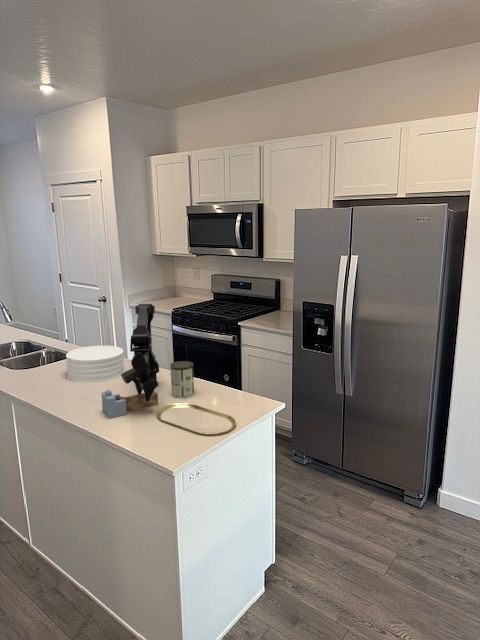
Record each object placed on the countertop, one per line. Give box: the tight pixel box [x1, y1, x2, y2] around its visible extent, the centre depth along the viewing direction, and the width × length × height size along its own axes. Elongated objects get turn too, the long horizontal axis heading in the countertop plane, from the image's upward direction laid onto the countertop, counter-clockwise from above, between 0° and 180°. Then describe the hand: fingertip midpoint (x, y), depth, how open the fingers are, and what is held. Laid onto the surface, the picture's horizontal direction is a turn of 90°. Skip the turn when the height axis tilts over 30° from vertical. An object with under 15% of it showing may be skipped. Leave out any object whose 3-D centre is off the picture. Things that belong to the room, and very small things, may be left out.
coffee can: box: [169, 360, 195, 399], centre depth 199 cm, size 10×10×14 cm
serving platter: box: [156, 402, 237, 436], centre depth 173 cm, size 19×35×2 cm, turn 54°
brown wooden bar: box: [118, 390, 159, 413], centre depth 185 cm, size 16×4×6 cm, turn 123°
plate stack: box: [65, 345, 126, 383], centre depth 228 cm, size 28×28×12 cm
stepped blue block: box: [100, 389, 127, 419], centre depth 179 cm, size 7×9×10 cm
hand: (143, 397), depth 186 cm, fingers open, 9 cm apart
